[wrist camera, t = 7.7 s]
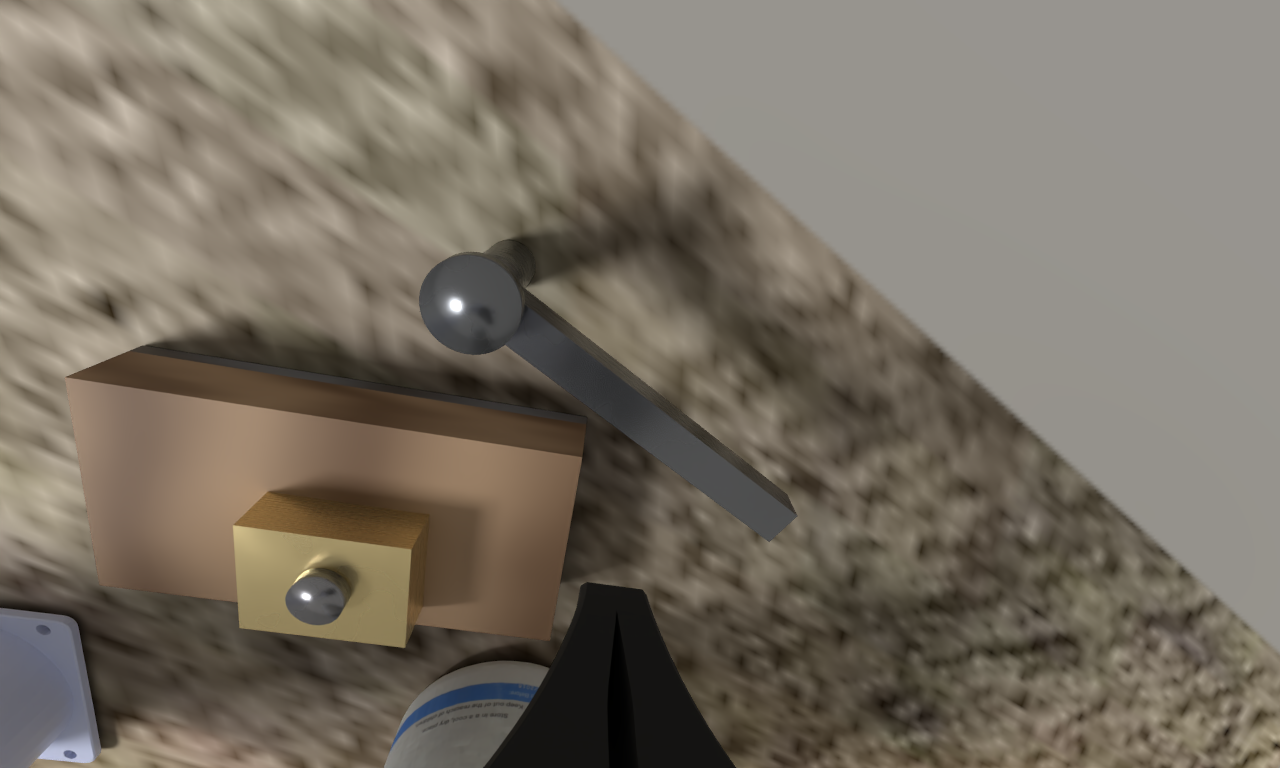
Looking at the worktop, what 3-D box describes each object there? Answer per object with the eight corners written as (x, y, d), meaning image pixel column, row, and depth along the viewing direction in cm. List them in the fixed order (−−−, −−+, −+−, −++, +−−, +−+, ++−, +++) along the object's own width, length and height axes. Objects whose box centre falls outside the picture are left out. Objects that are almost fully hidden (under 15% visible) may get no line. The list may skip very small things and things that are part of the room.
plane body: (163, 531, 23) (99, 585, 20) (142, 345, 20) (64, 377, 17) (557, 583, 24) (549, 641, 21) (587, 416, 21) (582, 457, 19)
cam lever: (729, 478, 22) (762, 575, 17) (457, 269, 19) (399, 313, 14) (774, 434, 22) (822, 521, 17) (501, 211, 19) (456, 234, 14)
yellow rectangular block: (271, 587, 20) (227, 642, 18) (267, 491, 19) (219, 538, 16) (422, 607, 20) (398, 663, 18) (429, 514, 19) (404, 562, 17)
